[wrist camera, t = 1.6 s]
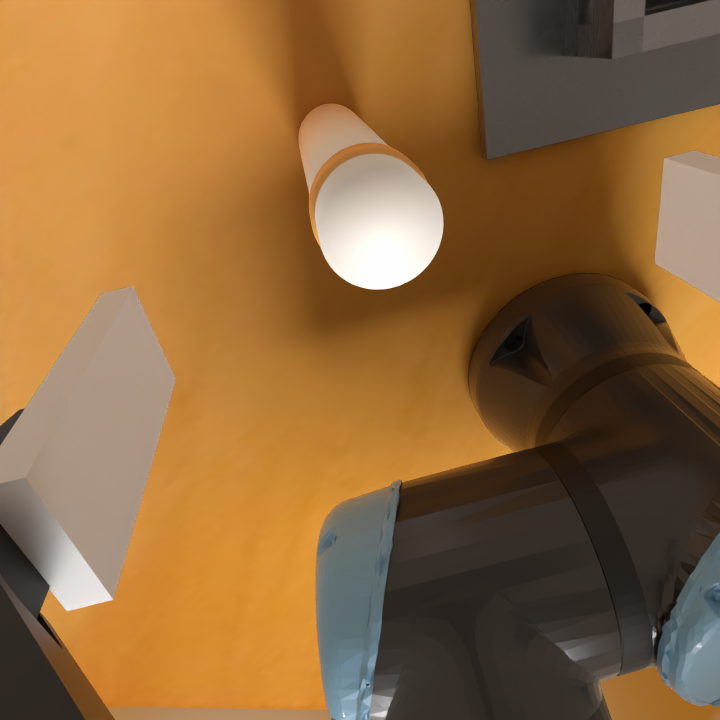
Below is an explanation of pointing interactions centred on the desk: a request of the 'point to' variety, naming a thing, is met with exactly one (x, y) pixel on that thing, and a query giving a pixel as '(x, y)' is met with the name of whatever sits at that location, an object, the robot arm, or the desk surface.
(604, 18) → the collar stand
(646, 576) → the robot arm
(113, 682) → the desk surface
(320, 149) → the tube
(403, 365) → the desk surface
